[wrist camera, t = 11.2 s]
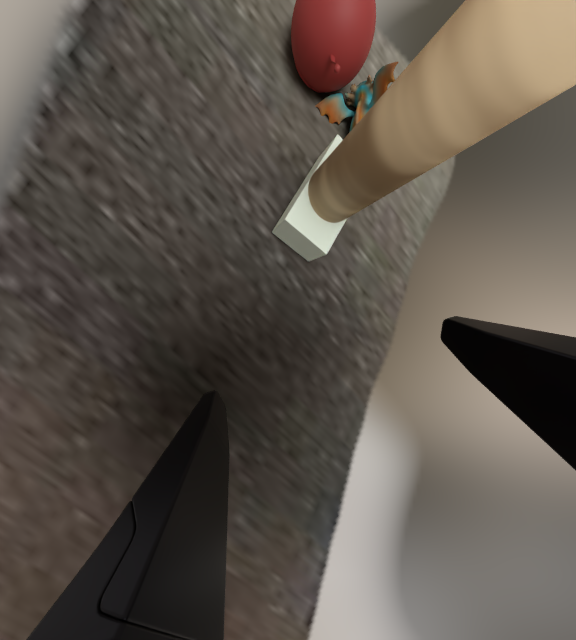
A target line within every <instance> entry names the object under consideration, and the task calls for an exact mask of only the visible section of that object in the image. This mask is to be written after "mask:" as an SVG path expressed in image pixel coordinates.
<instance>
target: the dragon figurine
mask: <svg viewBox="0 0 576 640" xmlns="http://www.w3.org/2000/svg"><path fill="white" fill-rule="evenodd" d="M397 64H398V62H394V63H391V64H388V65H385V66H383V67H382V68H381V69H380V70H379V71H378V72H377V73H376V75H375V78H374V81H373V82H372V80H371V77H370V75H369V76H368V78H367V81H364V82H362V83H360V84H359V85H358V86H357V87H356V85H355V84H354V86H353V84H352V85H351V87H350V90H351V92H354V93H350V94H349V93H348V92H347V93H345V95H346V98H348V99H346V100H347V101H348V102H346V104H347V105H348V106H350V105H351V106H354V107H355V108H357V109H356V112H354V111H351V110H349V109H348V108H347V107H346V105H345V103H344V99H343V94H341V93H336V94H333V95H330V96H328V97H326V98H325V99H323V100H322V101H321V102H319V103H318V104H317V105H316V106H315V107H318V108H319V110H320V114H321V116H324V115H325V114H326V115H328V117H329V122H330V123H332V124H333V123H334V122H338V125H339V124H340V122H341V121H342V120H343V119H345V118H347V117H353V119H352V122H351V125H350V131H351V130H352V129H353V128H354V127H355V126H356V125H357V123H358V122H359V121H360V120H361V119H362V118H363V117H364V115H365V114H366V113H367V112H368V111H369V110H370V109H371V107H372V106H373V105H374V104H375V103H376V102H377V101H378V99H379V98H380V97H381V96H382V95H383V94H384V93H385V91H386V90H387V86H388V84H389V83H390V82H394V81H395V79H394V76H393V71H394V68H395V66H396V65H397ZM349 100H350V101H349Z"/></svg>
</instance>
